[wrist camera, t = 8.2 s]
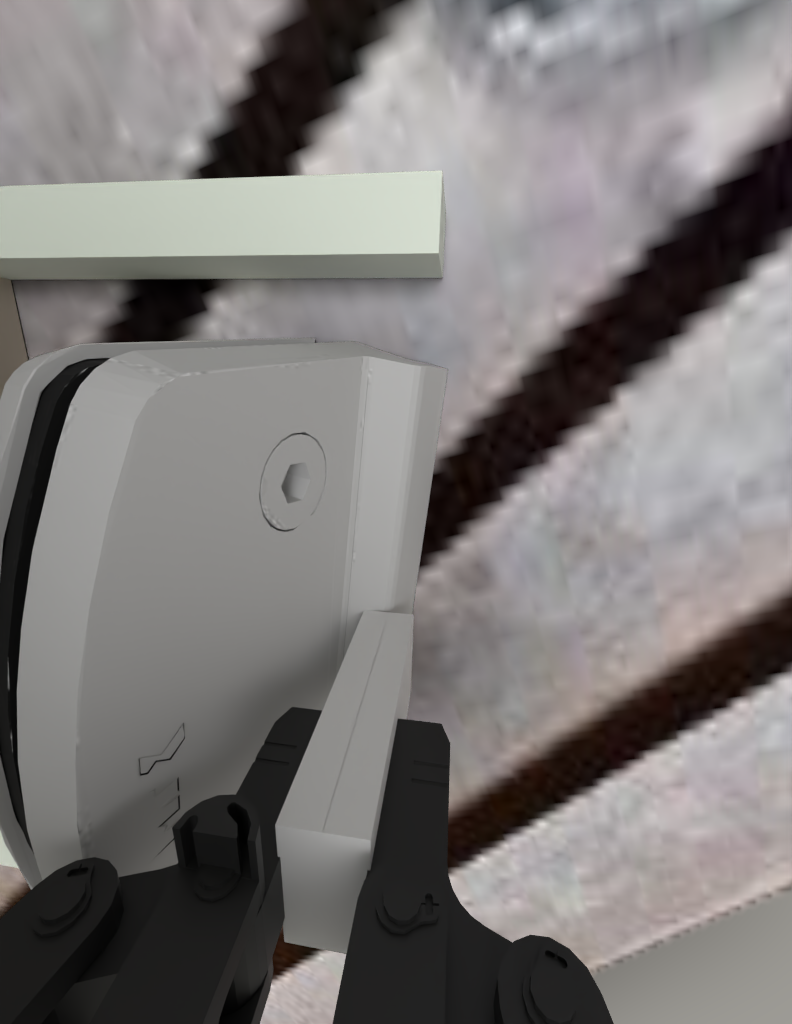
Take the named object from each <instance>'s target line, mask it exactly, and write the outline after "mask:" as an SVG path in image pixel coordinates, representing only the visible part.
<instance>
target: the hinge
mask: <svg viewBox="0 0 792 1024" xmlns="http://www.w3.org/2000/svg"><path fill="white" fill-rule="evenodd" d="M447 374H448V369H446V368H443V367H440V366H436V365H433V364H429V363H424V362H418V361H413V360H408V359H406V358H403V357H400V356H397V355H394V354H391V353H388V352H385V351H382V350H379V349H376V348H373V347H370V346H367V345H364V344H361V343H358V342H355V341H347V342H324V343H315V338H282V339H243V340H203V341H164V342H125V343H86V344H78V345H75V346H71V347H68V348H64V349H61V350H57V351H53V352H50V353H46V354H43V355H39V356H37V357H35V358H33V359H30V360H28V361H26V362H24V363H23V364H22V365H21V366H20V367H19V368H18V369H16V370H15V371H14V372H13V373H12V375H11V376H10V378H9V379H8V381H7V382H6V383H5V386H4V389H3V392H2V396H1V399H0V831H1V834H2V837H3V840H4V843H5V845H6V847H7V848H8V850H9V852H10V854H11V855H12V857H13V859H14V860H15V862H16V864H17V866H18V867H19V869H20V871H21V873H22V874H23V876H24V878H25V880H26V881H27V883H28V885H29V887H30V888H31V890H32V889H33V888H34V887H35V886H36V885H37V884H39V883H40V882H41V881H43V880H44V879H45V878H46V877H48V876H49V875H50V874H52V873H53V872H54V871H56V870H57V869H60V868H62V867H64V866H66V865H68V864H70V863H72V862H74V861H76V860H81V859H87V858H92V857H96V858H101V859H105V860H109V861H110V863H111V864H112V865H113V866H114V867H115V869H116V870H117V873H118V877H122V876H127V875H132V874H137V873H142V872H148V871H153V870H158V869H162V868H166V867H169V866H172V865H175V864H177V863H178V859H177V853H176V847H175V842H174V836H173V830H172V827H173V826H174V825H175V824H176V823H177V822H178V820H179V819H180V818H181V817H182V816H183V815H184V813H185V812H187V811H188V810H190V809H191V808H192V807H194V806H195V805H197V804H198V803H200V802H201V801H203V800H206V799H209V798H212V797H215V796H217V795H232V794H235V795H236V793H237V791H238V790H239V788H240V786H241V784H242V782H243V780H244V778H245V777H246V775H247V773H248V771H249V769H250V767H251V765H252V764H253V762H255V759H256V756H257V754H258V752H259V751H260V749H261V747H262V745H264V741H265V739H266V738H267V736H268V734H269V732H270V730H271V728H272V726H273V725H274V723H275V721H277V720H278V719H279V718H280V717H281V716H282V715H283V714H284V713H286V712H287V711H288V710H289V709H290V708H291V707H298V708H306V709H314V710H323V708H324V706H325V703H326V701H327V698H328V696H329V694H330V691H331V689H332V686H333V684H334V681H335V679H336V677H337V674H338V672H339V669H340V667H341V664H342V662H343V660H344V657H345V655H346V652H347V650H348V648H349V645H350V643H351V640H352V638H353V635H354V633H355V631H356V628H357V626H358V623H359V621H360V618H361V616H362V614H363V611H381V612H391V613H402V614H412V612H413V605H414V598H415V592H416V585H417V578H418V571H419V564H420V558H421V551H422V544H423V537H424V531H425V524H426V517H427V510H428V503H429V497H430V490H431V483H432V476H433V469H434V463H435V456H436V449H437V442H438V435H439V429H440V422H441V415H442V408H443V402H444V395H445V388H446V381H447Z"/></svg>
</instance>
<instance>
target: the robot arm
mask: <svg viewBox="0 0 792 1024" xmlns="http://www.w3.org/2000/svg"><path fill="white" fill-rule="evenodd" d="M413 628H414V615H413V614H402V613H391V612H381V611H363V614H362V616H361V618H360V621H359V623H358V626H357V628H356V631H355V633H354V635H353V638H352V640H351V643H350V645H349V648H348V650H347V652H346V655H345V657H344V660H343V662H342V664H341V667H340V669H339V672H338V674H337V677H336V679H335V681H334V684H333V686H332V689H331V691H330V694H329V696H328V698H327V701H326V703H325V706H324V708H323V710H314V709H306V708H298V707H291V708H290V709H289V710H288V711H287V712H286V713H284V714H283V715H282V716H281V717H280V718H279V719H278V720H277V721H275V723H274V725H273V726H272V728H271V730H270V732H269V734H268V736H267V738H266V739H265V741H264V745H262V747H261V749H260V751H259V752H258V754H257V756H256V759H255V762H253V764H252V765H251V767H250V769H249V771H248V773H247V775H246V777H245V778H244V780H243V782H242V784H241V786H240V788H239V790H238V791H237V793H236V795H235V794H232V795H217V796H215V797H212V798H209V799H206V800H203V801H201V802H200V803H198V804H197V805H195V806H194V807H192V808H191V809H190V810H188V811H187V812H185V813H184V815H183V816H182V817H181V818H180V819H179V820H178V822H177V823H176V824H175V825H174V826H173V827H172V830H173V836H174V842H175V847H176V853H177V859H178V863H177V864H175V865H172V866H169V867H166V868H162V869H158V870H153V871H148V872H142V873H137V874H132V875H127V876H122V877H118V873H117V870H116V869H115V867H114V866H113V865H112V864H111V863H110V861H109V860H105V859H101V858H96V857H92V858H87V859H81V860H76V861H74V862H72V863H70V864H68V865H66V866H64V867H62V868H60V869H57V870H56V871H54V872H53V873H52V874H50V875H49V876H48V877H46V878H45V879H44V880H43V881H41V882H40V883H39V884H37V885H36V886H35V887H34V888H33V889H32V890H31V891H30V892H28V893H27V894H26V895H25V896H24V897H23V898H22V899H21V900H20V901H19V902H18V903H17V904H16V905H15V906H13V907H12V908H11V909H10V910H9V911H8V912H7V913H6V914H5V915H4V916H3V917H2V918H1V919H0V1024H260V1021H261V1017H262V1014H263V1011H264V1008H265V1004H266V1001H267V998H268V995H269V991H270V987H271V981H272V974H273V962H272V956H273V953H274V950H275V947H276V943H277V940H278V937H279V934H280V931H281V928H282V925H283V930H284V942H288V943H293V944H298V945H303V946H308V947H313V948H318V949H323V950H329V951H334V952H339V953H344V954H346V959H345V964H344V970H343V975H342V980H341V985H340V990H339V995H338V1000H337V1005H336V1010H335V1015H334V1020H333V1024H613V1021H612V1018H611V1016H610V1014H609V1011H608V1009H607V1006H606V1004H605V1001H604V999H603V997H602V994H601V992H600V990H599V988H598V986H597V985H596V983H595V981H594V979H593V977H592V976H591V974H590V972H589V970H588V968H587V967H586V966H585V965H584V964H583V963H582V962H581V961H580V960H579V959H578V958H577V957H576V955H575V954H574V953H573V952H572V951H571V950H570V949H569V948H567V947H565V946H564V945H562V944H560V943H558V942H557V941H555V940H553V939H551V938H550V937H543V936H535V935H529V936H526V937H524V938H521V939H519V940H516V941H514V942H513V943H512V942H510V941H509V940H507V939H505V938H504V937H502V936H500V935H499V934H497V933H495V932H494V931H492V930H490V929H489V928H487V927H485V926H484V925H482V924H481V923H480V922H478V921H477V920H476V919H474V918H473V917H472V916H471V915H470V914H469V913H468V912H467V911H466V910H465V908H464V907H463V906H462V905H461V904H460V902H459V900H458V898H457V897H456V895H455V893H454V891H453V889H452V886H451V883H450V880H449V876H448V867H447V844H448V804H449V765H450V742H449V740H448V738H447V735H446V733H445V731H444V729H443V727H442V724H438V723H430V722H422V721H414V720H407V714H408V707H409V701H410V694H411V677H412V652H413Z"/></svg>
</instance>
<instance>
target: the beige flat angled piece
mask: <svg viewBox="0 0 792 1024" xmlns="http://www.w3.org/2000/svg"><path fill="white" fill-rule="evenodd" d="M445 221H446V208H445V196H444V184H443V171H417V172H388V173H360V174H332V175H304V176H275V177H247V178H219V179H191V180H162V181H134V182H106V183H78V184H49V185H21V186H0V399H1V396H2V392H3V389H4V386H5V383H6V382H7V381H8V379H9V378H10V376H11V375H12V373H13V372H14V371H15V370H16V369H18V368H19V367H20V366H21V365H22V364H23V363H24V362H26V361H28V358H27V353H26V348H25V344H24V339H23V335H22V330H21V325H20V321H19V316H18V311H17V307H16V302H15V297H14V293H13V288H12V284H11V280H73V279H302V278H443V261H444V241H445ZM0 865H5V866H10V867H15V868H19V867H18V866H17V864H16V862H15V860H14V859H13V857H12V855H11V854H10V852H9V850H8V848H7V847H6V845H5V843H4V840H3V837H2V834H1V831H0Z"/></svg>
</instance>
